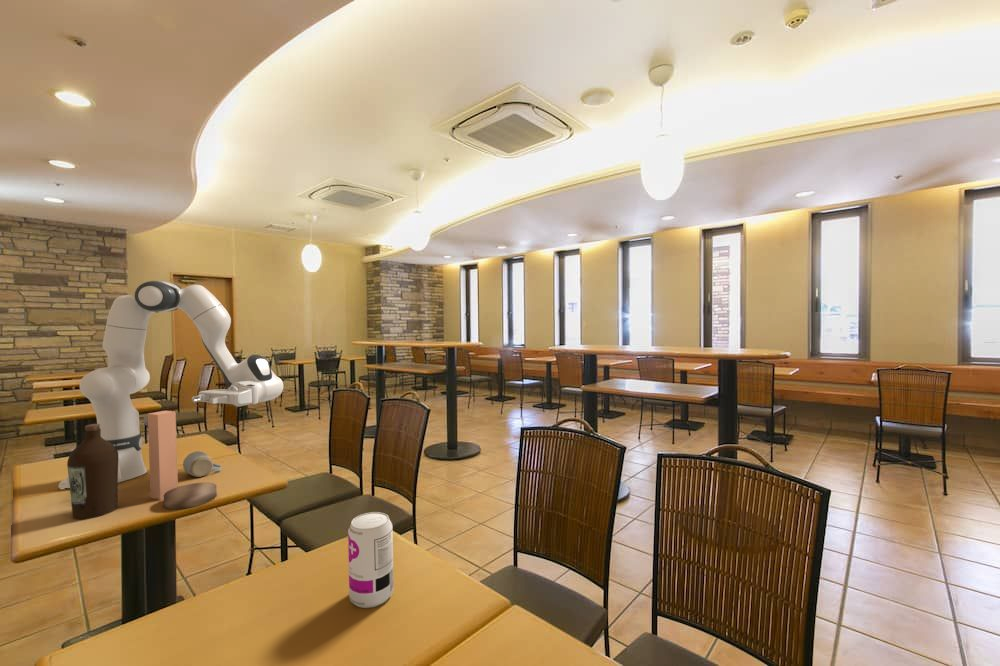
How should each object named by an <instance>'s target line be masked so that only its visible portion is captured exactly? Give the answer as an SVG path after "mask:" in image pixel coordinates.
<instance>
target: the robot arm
mask: <svg viewBox="0 0 1000 666" xmlns="http://www.w3.org/2000/svg"><path fill="white" fill-rule="evenodd" d="M176 310H181V311H182V312H183V313H184V314H186V315H187V316H188V318H189V319H190V320H191V321H192V322H193V324H194V325H195V326H196V328H197V330H198V332H199V333H200V337H201V341H202V344H203V346H204V348H205V349H206V351H207V352H208V354H209V356H210V357H211V359H212V361H213V362H214V363H215V365H216V366H217V368H218V370H219V371H220V372H221V373H220V374H222V377H223V380H224V383H225V384H226V386H227V387H228V388H226V389H224V388H215V389H208V390H207V389H206V390H201V391H199V392H198V395H196V396H192V397H191V401H192V403H199V402H202V403H210V404H212V405H214V404H224V405H225V404H226V405H227V404H228V405H233V406H235V407H238V408H239V407H243V406H249V405H257V404H258V403H263V402H268V401H271V400H275V399H277V398H278V397H279V396H280V395H281V394H282V393H283V392H284V391H283V390H284V382H283V380H282V379H281V378H280V377H278V376H277V375H276V374H275V373H274V371H273V370H272V368H271V365H270V362H269V360H268V359H267V358H266V357H264V356H263V355H261V354H251V355H250V356H248V357H247V358H245V359H243V360H241V362H239V363H237V361H236V360H235V358H234V357H233V355H232V353H231V352H230V351H229V349H228V347H227V345H226V337H227V335H228V331H229V329H230V327H231V324H232V317H231V315H230V314H229V312H228V310H227V309H226V308H225V307H224V306H223V304H222V303H221V301H219V299H217V297H216V296H215V295H214V294H213V293H212V292H211V291H209V290H208V289H207V288H206V287H205V286H203V285H201V284H191V285H187V286H186V287H184V288H182V287H180V286H179V285H178V284H177V283H173V282H169V281H164V280H149V281H145V282H143V283H141V284H139V286H137V287H136V289H135V291H134V295H133V294H132V295H131V294H125V295H119V296H118V297H117V298H115V299H114V300H113V303H112V305H111V307H110V310H109V312H108V316H107V319H106V323H105V329H104V334H103V340H102V349H103V350H104V351H105V353H106V357H107V359H108V360H107V361H108V363H107V366H105V367H100V368H97V369H94V370H92V371H90V372H88V373H86V374H85V375H84V376H82V377H81V379H80V382H79V390H80V393H81V395H83V396H84V397H85V398H87V399H88V401H89V402H90V403H91V406H92V408H93V411H94V412H95V417H96V424H100V429H101V437H102V438H103V439H104V440H106V441H108V442H109V443H111V444H112V445H114V446H115V447H116V449H117V451H118V456H119V457H118V484H119V483H121V482H125V481H128V480H129V481H130V480H132V479H134V478H139V477H140V476H142V475H144V474H146V473H147V472H148V470H147V468H146V466H145V462H144V459H143V453H142V448H143V438H142V433H141V432H140V413H139V411H138V410H137V409H136V408H135V406H134V405H133V403H132V399H131V397H130V396H131V395H132V394H135V393H137V392H139V391H141V390H142V389H144V388H145V387H147V385H148V384H149V383H150V380H151V376H150V372H149V371H148V369H147V368H146V363H145V343H146V337H147V333H148V332H147V331H148V327H149V321H150V318H151V316H152V315H154V314H155V313H168V312H172V311H176ZM57 488H58V489H59V488H70V484H69V475H67V478H65V479H63V480H62V481H60V482H59V483H58V487H57Z"/></svg>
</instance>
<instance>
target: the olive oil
mask: <svg viewBox="0 0 1000 666" xmlns="http://www.w3.org/2000/svg"><path fill="white" fill-rule="evenodd" d="M83 433H84V439H83V440H82V441H81V442H80V444H79V445H77V446H76V447H75V448H74V449H73V450H72V451H71V453H70V454H69V456H68V459H67V463H66V464H67V465H66V466H67V474H68V475H69V484H70V489H69V491H70V501H71V511H72V512H71V513H72V514H71V516H72V518H73V519H75V520H86V519H93V518H96V517H97V518H98V517H100V516H104V515H107V514H109V513H112V512H114V511H115V510H116V509H117V508H118V500H119V499H118V486H119V483H118V457H119V456H118V451H117V449H116V447H115V446H114V445H112V444H111V443H109V442H108V441H106V440H104V439H103V438H102V437H101V429H100V424H97V423H91V424H90V423H89V424H86V425H84V431H83ZM68 475H67V476H68Z"/></svg>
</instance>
